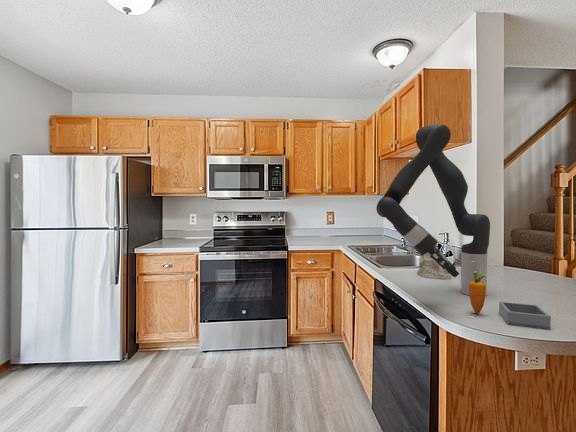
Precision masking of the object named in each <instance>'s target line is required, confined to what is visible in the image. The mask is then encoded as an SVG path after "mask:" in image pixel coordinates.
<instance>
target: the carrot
mask: <svg viewBox="0 0 576 432" xmlns="http://www.w3.org/2000/svg"><path fill="white" fill-rule="evenodd" d="M481 274H482V272H480V273H479V276H478V277H477V271H475V272H473V275H474V278H475V281H471V282H469V295H468V296H469V300H470V304H471V307H472V309H473V311H474V313H475V314H476V315H478V314H480V313H481V312H482V310H483V307H484V304H485V301H486V296H485V294H486V285H485V284H484V283H483V282H481V281H480V280H481V279H482V278H483V277H485V276H486V275H482V276H481Z"/></svg>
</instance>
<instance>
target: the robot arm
mask: <svg viewBox="0 0 576 432" xmlns="http://www.w3.org/2000/svg"><path fill="white" fill-rule="evenodd" d="M451 136H452V133H451V130H450V128H449V126H448V125H446V124H442V123H441V124H439V123H437V124H432V125H431V124H430V125H426V126H425V125H424V126H422V127H420V128H419V129H418V130H417V131H416V134H415V143H416V146H417V148H418V149H419V152H418V153H417V154H416V156H414V157H413V158H412V159H411V160H410V161H409V162H407V163H406V164H405V165H404V166H403V167H402V168H401V169H400V170H399V171H398V173H397V174H396V176H394V179H393V180H392V182H391V183H390V185H389V186H388V189H387V191H386V192H385V193H384V194H383V196H382V198H380V199H379V200H378V202H377V204H376V209H375V210H376V213H377V214H378V216H380V217H381V218H385V219H386V220H388V221H389V223H391V224H392V226H393V228H394V229H395V231H397V233H399V235H401V236H402V237H403V238H404V240H405V241H406V242H407V243H408V244H409V245H410V246H411V247H412V248H413V249H414V250H416V252H418V253H419V255H421V256H423V255H424V254H426V253H429V254H430V257H431V259H433V260H434V261H435V262H436V263H437V264H438V265H440V266H441V267H442V268H443V269H445V270H447V271H448V272H449V273H450V274H451V277H453V278H456V277H458V276H459V275H460V292H461V294H463V295H466V296H470V295H469V282H471V281H475V278H474V275H473V272H475V271H477V277H478V276H479V273H480V272H482V274H481V276H482V275H486V276H485V277H483V278H482V279H481V280H480V281H481V282H483V283H484V284H485V285H486V294H485V297H486V296H487V290H488V289H487V287H488V249H489V246H490V237H491V236H490V235H491V234H490V233H491V221H490V219H489V217H488V215H486V214H481V213H480V214H477V213H469V212H468V211H467V209H466V206H465V200H466V198H467V194H468V190H469V186H468V183H467V180H466V178H465V176H464V174H463V172H462V170H461V169H460V168H459V167H458V166H457V165H456V164H454V162H453V161H451V160H450V159H449V158H448V157H447V156H446V154H445V153H444V152H443V151H444V149H445V148H446V147H447V146H448V144H449V142H450V141H451ZM428 167H430V169H431V171H432V173H433V175H434V177H435V179H436V182H437V184H438V187H439V189H440V190H441V191H440V192H441V193H442V194H443V196H444V198H445V200H446V202H447V205H448V207H449V210H450V213H451V215H452V219H453V220H454V223H455V227H456V229H457V231H458V233H460V234H461V235H462V236H467V237H468V236H469V237H472V238H473V239H472V241H471V242H468V243H465V244H462V245H461V248H460V249H461V253H460V254H461V257H460V258H461V261H460V272H459V271H458V270H457V267H456V266H455V265H454V264H453V263H451V261H450V260H449V259H448V258H447V256H446V255H445V253H443V252H442V250H441V249H439V248H437V247H436V245H437V244H438V243H439V242H438V240H437V239H436V238H435V237H434V236H433V235H432V234H431V233H429V232H428V231H427V230H426V229H425V227H423V226H421V225H420V224H419V223H418V222H417V221H416V220H415V219H413V217H411V216H410V215H409V214H408V213H407V212H406V210H405V209H404V207H402V206H401V205H400V204H401V203H402V201H403V200H404V198H405V197H406V196H407V195H408V193H409V192H410V190H411V189H412V187H413V186H414V184H415V183H416V182H417V180H418V179H419V177H420V176H421V175H422V174H423V173H424V172H425V171H426V169H427V168H428ZM443 264H444V265H443Z"/></svg>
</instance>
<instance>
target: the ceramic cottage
mask: <svg viewBox="0 0 576 432" xmlns="http://www.w3.org/2000/svg"><path fill="white" fill-rule="evenodd" d="M443 265H444V264H443ZM416 274H417V275H418V276H419V277H421V278H424V279H432V280H443V281H445V280H446V281H447V280H448V281H450V280H452V275H451V274H450V273H449V272H448V271H447V270H445V269H443V268H442V267H441V266H440V265H438V264H437V263H436V262H435V261H434V260H433V259H431V257H430V254H429V253H426V254H424V255H422V257H420V258H419V269H418V270H417V273H416Z"/></svg>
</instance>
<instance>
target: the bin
mask: <svg viewBox="0 0 576 432" xmlns="http://www.w3.org/2000/svg"><path fill="white" fill-rule="evenodd" d="M498 304H499V305H498V306H499V307H498V313H499V314H500V317H501V318H502V319H503V320H504V321H505V323H506V325H509V326H510V325H511V326H517V327H524V328H525V327H527V328H533V329H541V330H543V329H544V330H549V331H550V330H551V319H552V318H551V317H552V316H551V315H550V314H548V313H547V312H546V311H545V310H544V309H543V308H541V307H540V306H539V305H538V304H528V303H520V302H519V303H518V302H510V301H509V302H507V301H499V302H498Z"/></svg>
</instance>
